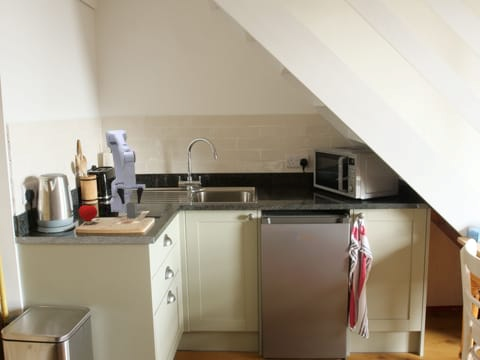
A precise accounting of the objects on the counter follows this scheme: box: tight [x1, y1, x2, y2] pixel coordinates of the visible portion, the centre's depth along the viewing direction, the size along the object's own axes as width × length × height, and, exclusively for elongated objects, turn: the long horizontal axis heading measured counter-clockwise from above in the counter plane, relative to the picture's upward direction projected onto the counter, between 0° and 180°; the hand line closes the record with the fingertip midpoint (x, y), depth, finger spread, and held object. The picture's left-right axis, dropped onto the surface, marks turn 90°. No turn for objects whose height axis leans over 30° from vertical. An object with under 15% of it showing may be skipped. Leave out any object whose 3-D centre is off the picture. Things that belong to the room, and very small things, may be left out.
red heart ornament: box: [78, 204, 98, 225], centre depth 207 cm, size 9×7×10 cm
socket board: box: [112, 210, 150, 225], centre depth 217 cm, size 12×26×2 cm, turn 0°
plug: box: [126, 201, 138, 218], centre depth 217 cm, size 4×4×7 cm
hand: (131, 203), depth 216 cm, fingers open, 7 cm apart
